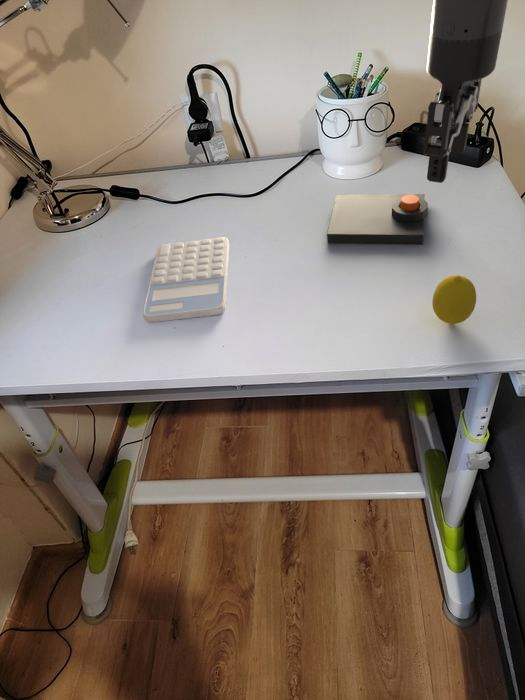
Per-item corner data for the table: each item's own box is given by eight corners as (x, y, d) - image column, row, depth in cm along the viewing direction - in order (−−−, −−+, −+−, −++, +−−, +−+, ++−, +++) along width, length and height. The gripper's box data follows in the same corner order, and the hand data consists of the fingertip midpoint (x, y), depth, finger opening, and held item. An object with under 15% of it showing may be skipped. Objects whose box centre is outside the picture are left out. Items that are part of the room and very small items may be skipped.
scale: (426, 203, 93) (428, 185, 91) (425, 244, 85) (427, 226, 82) (336, 203, 97) (335, 187, 95) (327, 243, 89) (326, 226, 86)
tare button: (418, 202, 88) (419, 194, 87) (418, 211, 86) (419, 203, 85) (401, 202, 89) (401, 194, 88) (400, 211, 87) (400, 203, 86)
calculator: (230, 242, 93) (228, 233, 92) (225, 315, 79) (223, 306, 78) (159, 251, 94) (156, 242, 93) (143, 324, 80) (139, 316, 79)
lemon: (428, 333, 71) (434, 288, 65) (431, 307, 74) (437, 262, 69) (470, 337, 69) (480, 292, 63) (471, 310, 73) (481, 265, 67)
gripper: (484, 49, 50) (459, 196, 62) (517, 6, 58) (489, 145, 70) (410, 46, 53) (399, 187, 65) (451, 6, 61) (435, 138, 73)
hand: (446, 165), depth 67 cm, fingers open, 8 cm apart
